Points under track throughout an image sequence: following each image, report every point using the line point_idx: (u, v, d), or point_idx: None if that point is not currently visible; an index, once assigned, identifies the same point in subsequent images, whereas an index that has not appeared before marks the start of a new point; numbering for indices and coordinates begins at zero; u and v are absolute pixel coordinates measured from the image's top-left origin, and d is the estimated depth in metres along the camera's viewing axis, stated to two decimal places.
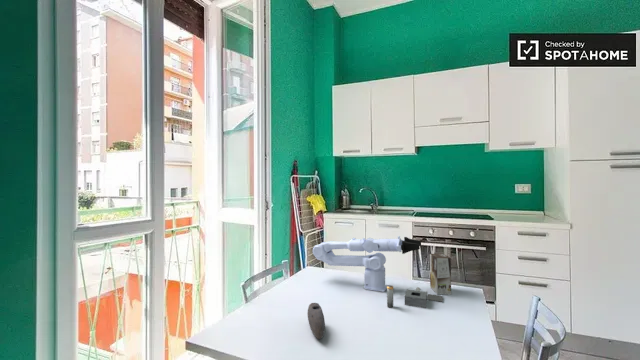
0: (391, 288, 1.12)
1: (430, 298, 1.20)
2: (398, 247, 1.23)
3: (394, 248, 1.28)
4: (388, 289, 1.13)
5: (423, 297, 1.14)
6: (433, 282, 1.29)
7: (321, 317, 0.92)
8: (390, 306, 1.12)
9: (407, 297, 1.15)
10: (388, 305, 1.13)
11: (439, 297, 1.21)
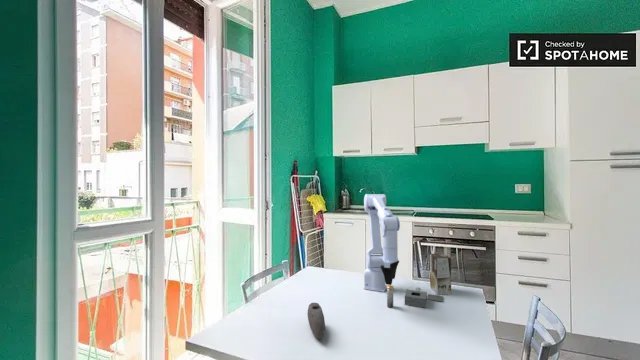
0: (391, 288, 1.12)
1: (430, 298, 1.20)
2: None
3: None
4: (388, 289, 1.13)
5: (423, 297, 1.14)
6: (433, 282, 1.29)
7: (321, 317, 0.92)
8: (390, 306, 1.12)
9: (407, 297, 1.15)
10: (388, 305, 1.13)
11: (439, 297, 1.21)
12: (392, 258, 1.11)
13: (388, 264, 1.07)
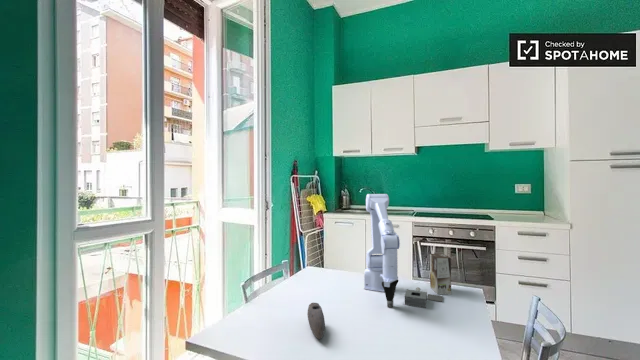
0: None
1: (430, 298, 1.20)
2: None
3: None
4: None
5: (423, 297, 1.14)
6: (433, 282, 1.29)
7: (321, 317, 0.92)
8: (390, 306, 1.12)
9: (407, 297, 1.15)
10: (388, 305, 1.13)
11: (439, 297, 1.21)
12: (392, 277, 1.11)
13: (388, 283, 1.07)
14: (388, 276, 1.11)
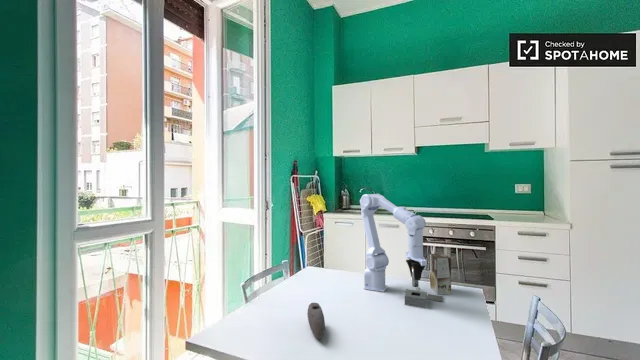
0: None
1: (430, 298, 1.20)
2: None
3: None
4: None
5: (423, 297, 1.14)
6: (433, 282, 1.29)
7: (321, 317, 0.92)
8: (417, 285, 1.16)
9: (407, 297, 1.15)
10: (415, 285, 1.16)
11: (439, 297, 1.21)
12: (421, 256, 1.15)
13: (425, 262, 1.10)
14: (418, 256, 1.15)
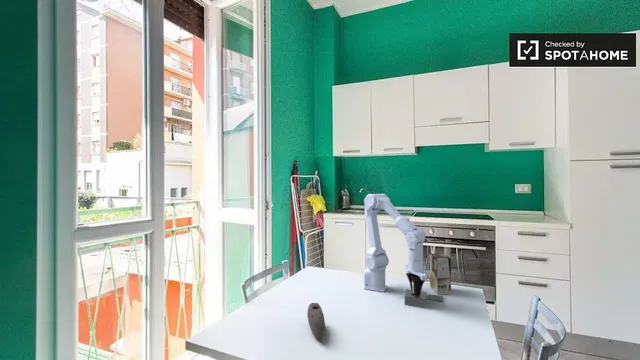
0: None
1: (430, 298, 1.20)
2: None
3: None
4: None
5: (423, 297, 1.14)
6: (433, 282, 1.29)
7: (321, 317, 0.92)
8: None
9: (407, 297, 1.15)
10: None
11: (439, 297, 1.21)
12: (421, 270, 1.15)
13: (425, 276, 1.10)
14: (418, 270, 1.15)
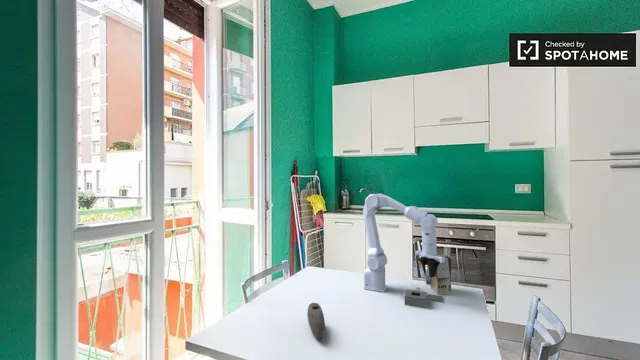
0: None
1: (430, 298, 1.20)
2: None
3: None
4: None
5: (423, 297, 1.14)
6: (433, 282, 1.29)
7: (321, 317, 0.92)
8: (431, 283, 1.19)
9: (407, 297, 1.15)
10: (430, 282, 1.19)
11: (439, 297, 1.21)
12: (436, 253, 1.19)
13: (444, 259, 1.14)
14: (434, 253, 1.18)
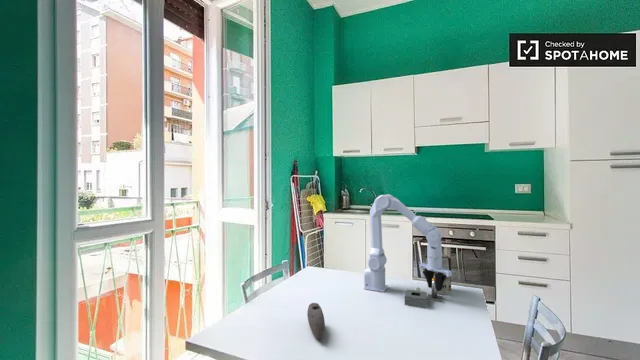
0: None
1: (430, 298, 1.20)
2: None
3: None
4: None
5: (423, 297, 1.14)
6: None
7: (321, 317, 0.92)
8: (437, 296, 1.20)
9: (407, 297, 1.15)
10: (436, 296, 1.20)
11: (439, 297, 1.21)
12: (441, 266, 1.20)
13: (450, 272, 1.16)
14: (440, 267, 1.19)
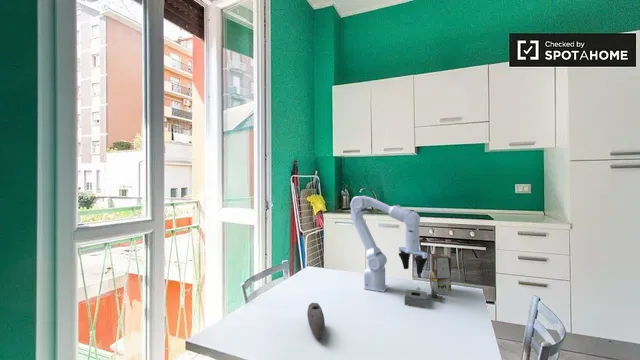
0: None
1: (430, 298, 1.20)
2: None
3: None
4: (435, 281, 1.20)
5: (423, 297, 1.14)
6: None
7: (321, 317, 0.92)
8: (436, 296, 1.20)
9: (407, 297, 1.15)
10: (436, 296, 1.20)
11: (439, 297, 1.21)
12: None
13: (426, 254, 1.20)
14: (417, 249, 1.23)
